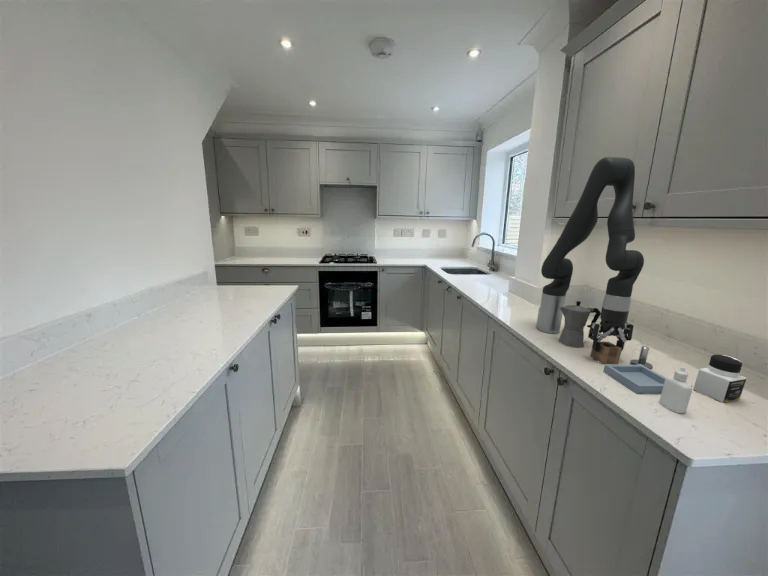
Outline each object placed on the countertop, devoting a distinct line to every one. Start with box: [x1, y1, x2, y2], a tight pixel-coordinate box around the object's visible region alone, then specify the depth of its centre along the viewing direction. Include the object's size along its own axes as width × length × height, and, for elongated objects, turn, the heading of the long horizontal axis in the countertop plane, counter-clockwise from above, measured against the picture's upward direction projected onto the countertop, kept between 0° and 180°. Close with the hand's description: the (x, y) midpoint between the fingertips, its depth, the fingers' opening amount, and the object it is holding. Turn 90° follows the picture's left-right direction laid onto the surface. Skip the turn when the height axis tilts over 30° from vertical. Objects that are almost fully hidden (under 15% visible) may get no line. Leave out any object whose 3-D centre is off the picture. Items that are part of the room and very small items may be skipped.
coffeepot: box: [558, 300, 601, 349], centre depth 122 cm, size 15×9×18 cm, turn 82°
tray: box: [603, 364, 667, 395], centre depth 95 cm, size 13×13×3 cm
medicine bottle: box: [692, 354, 747, 404], centre depth 88 cm, size 7×7×12 cm
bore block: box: [589, 341, 623, 365], centre depth 109 cm, size 6×6×6 cm
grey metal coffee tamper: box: [629, 345, 653, 370], centre depth 105 cm, size 6×6×7 cm
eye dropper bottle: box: [659, 366, 693, 414], centre depth 81 cm, size 4×6×12 cm
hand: (607, 351), depth 108 cm, fingers open, 8 cm apart
